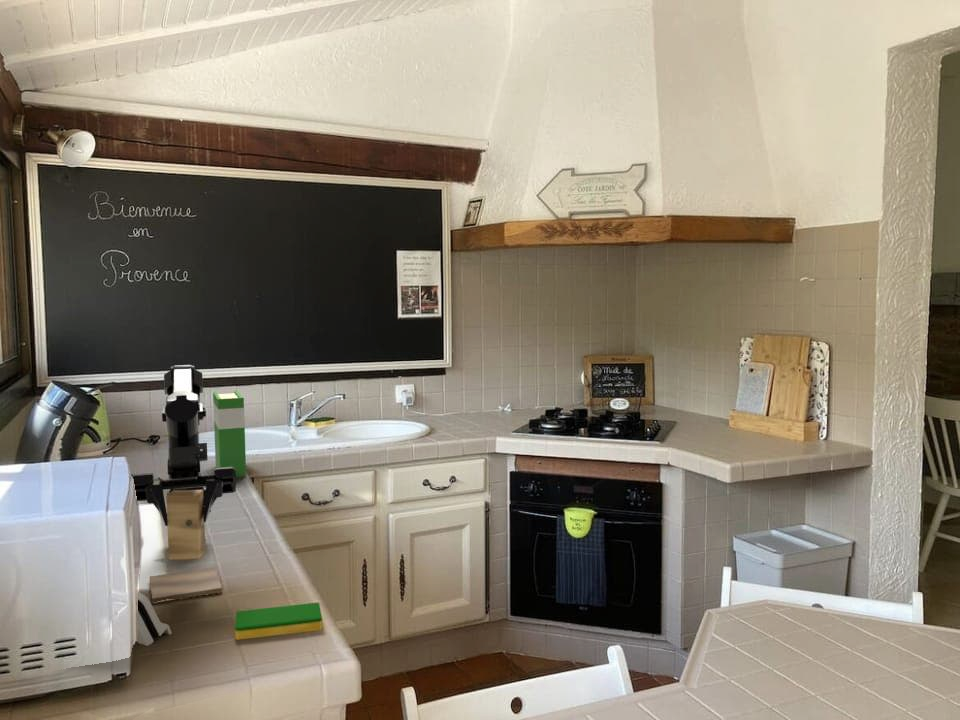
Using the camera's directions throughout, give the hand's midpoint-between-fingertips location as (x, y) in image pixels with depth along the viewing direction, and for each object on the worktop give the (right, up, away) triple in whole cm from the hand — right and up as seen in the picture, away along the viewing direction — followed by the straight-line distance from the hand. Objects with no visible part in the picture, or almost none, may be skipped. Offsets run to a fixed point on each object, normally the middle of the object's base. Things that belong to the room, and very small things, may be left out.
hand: (185, 523), depth 146 cm
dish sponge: (+21, -15, -13) cm, 29 cm away
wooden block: (0, -6, +2) cm, 7 cm away
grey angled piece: (-5, -15, -16) cm, 22 cm away
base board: (-2, -13, +4) cm, 14 cm away
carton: (-23, -5, +99) cm, 101 cm away
